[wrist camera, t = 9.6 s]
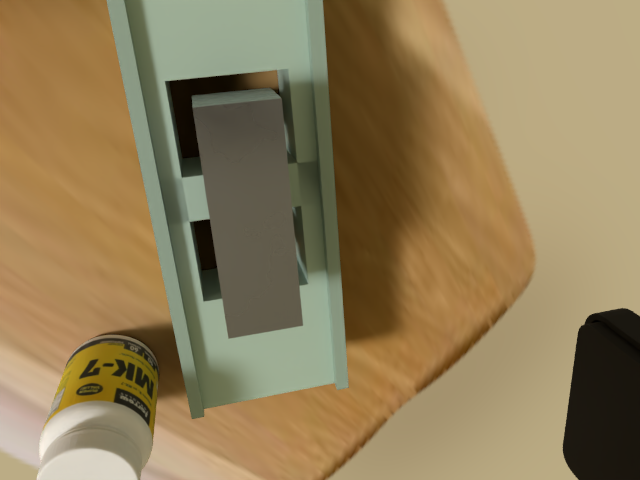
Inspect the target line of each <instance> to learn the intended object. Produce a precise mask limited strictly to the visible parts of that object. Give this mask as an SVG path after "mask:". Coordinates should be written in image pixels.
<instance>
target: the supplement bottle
mask: <svg viewBox="0 0 640 480" xmlns="http://www.w3.org/2000/svg"><path fill="white" fill-rule="evenodd" d="M158 381H159V368H158V363H157V360H156V358H155V356H154V354H153V353H152V351H151V350H150V349H149V348H148V347H147V346H146V345H144V344H143V343H142V342H140V341H138V340H136V339H133V338H131V337H127V336H122V335H103V336H98V337H95V338H92V339H90V340H88V341H86V342H85V343H83V344H82V345H80V346H79V347H78V348H77V349H76V350H75V351H74V352H73V354H72V355H71V356H70V358H69V360H68V362H67V365H66V368H65V370H64V373H63V376H62V379H61V381H60V384H59V387H58V389H57V392H56V395H55V398H54V400H53V403H52V406H51V409H50V411H49V414H48V417H47V420H46V422H45V425H44V428H43V430H42V434H41V437H40V442H39V454H40V459H41V464H40V468H39V472H38V476H37V479H36V480H140V476H141V470H142V469H143V468H144V466H145V465H146V463H147V461H148V459H149V457H150V454H151V451H152V445H153V435H154V424H155V414H156V403H157V392H158Z"/></svg>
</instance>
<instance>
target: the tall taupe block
mask: <svg viewBox="0 0 640 480" xmlns="http://www.w3.org/2000/svg"><path fill="white" fill-rule="evenodd" d="M192 108H193V114H194V121H195V127H196V134H197V140H198V147H199V153H200V159H201V166H202V172H203V179H204V185H205V192H206V198H207V204H208V211H209V217H210V224H211V230H212V237H213V243H214V249H215V256H216V262H217V269H218V275H219V282H220V288H221V294H222V301H223V307H224V314H225V320H226V327H227V333H228V339H230V338H236V337H242V336H247V335H253V334H259V333H264V332H270V331H276V330H282V329H287V328H293V327H299V326H303V319H302V308H301V298H300V287H299V276H298V266H297V255H296V245H295V234H294V223H293V213H292V202H291V192H290V181H289V170H288V160H287V149H286V139H285V128H284V118H283V107H282V98H281V97H280V96H279V95H278V94H276V93H275V92H274V91H273V90H272V89H271V88H261V89H251V90H241V91H232V92H222V93H212V94H202V95H192Z"/></svg>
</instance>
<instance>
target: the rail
mask: <svg viewBox="0 0 640 480" xmlns="http://www.w3.org/2000/svg"><path fill="white" fill-rule="evenodd" d="M107 5H108V10H109V15H110V19H111V24H112V29H113V34H114V39H115V44H116V49H117V54H118V59H119V64H120V68H121V73H122V78H123V83H124V88H125V93H126V98H127V103H128V108H129V113H130V118H131V122H132V127H133V132H134V137H135V142H136V147H137V152H138V157H139V162H140V167H141V172H142V176H143V181H144V186H145V191H146V196H147V201H148V206H149V211H150V216H151V221H152V225H153V230H154V235H155V240H156V245H157V250H158V255H159V260H160V265H161V270H162V275H163V279H164V284H165V289H166V294H167V299H168V304H169V309H170V314H171V319H172V324H173V329H174V333H175V338H176V343H177V348H178V353H179V358H180V363H181V368H182V373H183V378H184V382H185V387H186V392H187V397H188V402H189V407H190V412H191V417H192V419H195V418H200V417H204V409H206V408H211V407H216V406H221V405H226V404H231V403H236V402H241V401H246V400H251V399H256V398H261V397H266V396H271V395H277V394H282V393H287V392H292V391H297V390H302V389H307V388H312V387H317V386H322V385H327V384H332V383H335V385H336V388H337V390H339V389H344V388H349V386H348V371H347V356H346V341H345V326H344V312H343V297H342V282H341V267H340V252H339V237H338V222H337V207H336V192H335V177H334V162H333V147H332V132H331V117H330V102H329V87H328V72H327V57H326V42H325V27H324V12H323V0H107ZM271 70H277V74H278V84H279V94H280V97H281V98H282V107H283V118H284V128H285V139H286V149H287V160H288V170H289V181H290V192H291V202H292V213H293V223H294V234H295V245H296V255H297V266H298V276H299V287H300V298H301V308H302V319H303V326H299V327H293V328H287V329H282V330H276V331H270V332H264V333H259V334H253V335H247V336H242V337H236V338H230V339H228V333H227V327H226V320H225V314H224V307H223V301H222V294H221V288H220V282H219V275H218V269H217V268H215V269H209V270H203V271H202V269H201V263H200V257H199V251H198V246H197V240H196V234H195V228H194V223H193V221H199V220H206V219H210V217H209V211H208V204H207V198H206V192H205V185H204V179H203V172H202V166H201V159H200V157H192V158H184V159H182V153H181V148H180V142H179V136H178V130H177V124H176V119H175V113H174V107H173V101H172V96H171V90H170V84H169V81H171V80H181V79H191V78H201V77H211V76H221V75H231V74H241V73H251V72H261V71H271Z"/></svg>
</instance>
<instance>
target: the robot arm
mask: <svg viewBox="0 0 640 480" xmlns="http://www.w3.org/2000/svg"><path fill="white" fill-rule="evenodd" d="M563 454H564V458H565V460H566V463H567V465H568V467H569V468H570V470H571V471H572V472H573V473H574V475H575V476H576V477H577V478H578V479H579V480H640V316H638V315H637V314H635V313H634V312H633V311H631V310H628V309H623V308H621V309H616V310H610V311H605V312H600V313H595V314H592V315H590V316H589V317H588V318H587V319H586V322H585V325H583V326H581V327H580V329H579V331H578V337H577V344H576V352H575V360H574V367H573V374H572V382H571V389H570V397H569V405H568V413H567V420H566V427H565V434H564V441H563Z"/></svg>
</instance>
